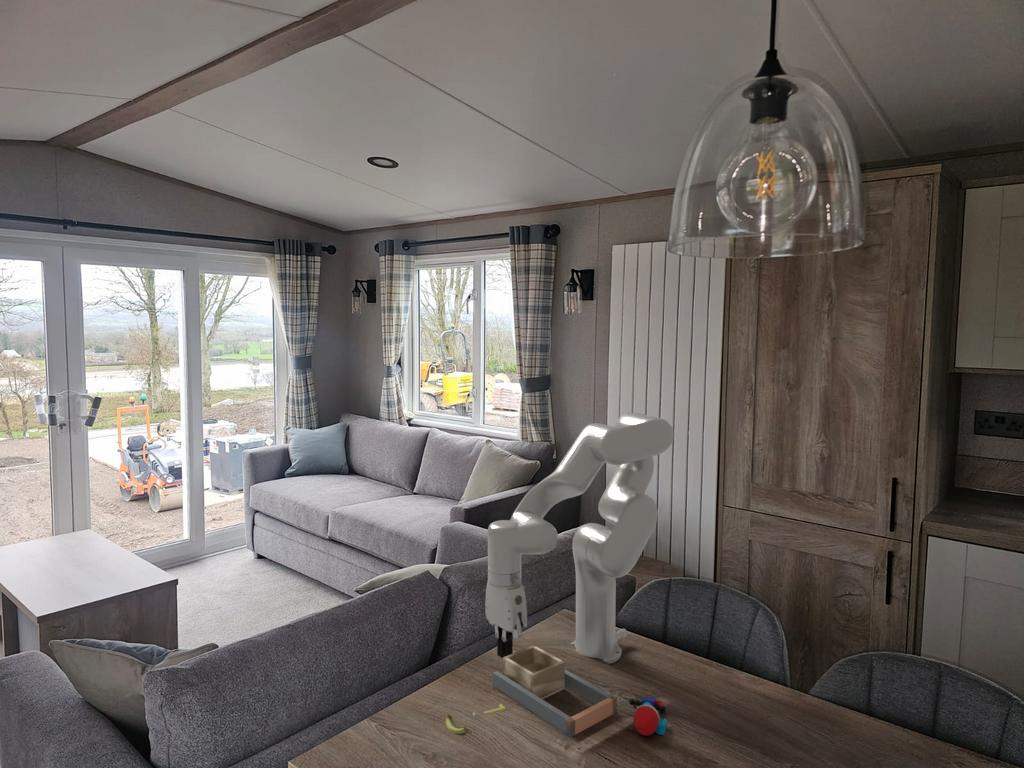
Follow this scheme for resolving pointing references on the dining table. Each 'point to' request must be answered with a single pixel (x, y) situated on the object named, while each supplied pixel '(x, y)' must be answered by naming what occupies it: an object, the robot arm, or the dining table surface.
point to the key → (464, 730)
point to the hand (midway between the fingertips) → (505, 655)
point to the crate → (535, 671)
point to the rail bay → (554, 716)
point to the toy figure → (648, 716)
